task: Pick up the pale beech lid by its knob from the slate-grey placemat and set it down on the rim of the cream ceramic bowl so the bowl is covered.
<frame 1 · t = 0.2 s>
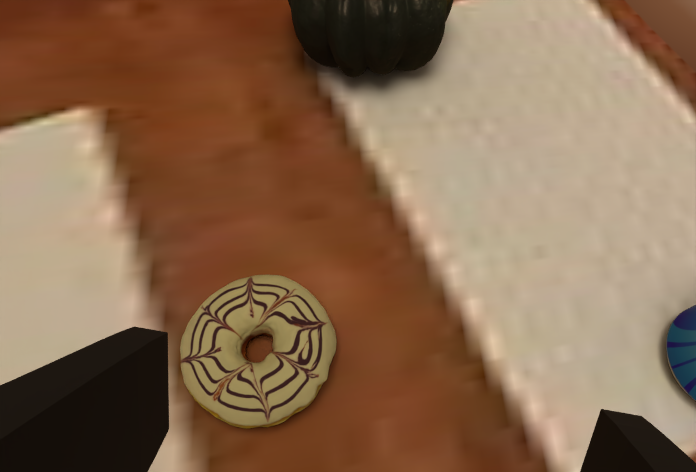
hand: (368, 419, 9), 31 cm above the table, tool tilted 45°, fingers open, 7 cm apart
squash: (364, 44, 54), on the table
decorated donut: (263, 355, 40), on the table
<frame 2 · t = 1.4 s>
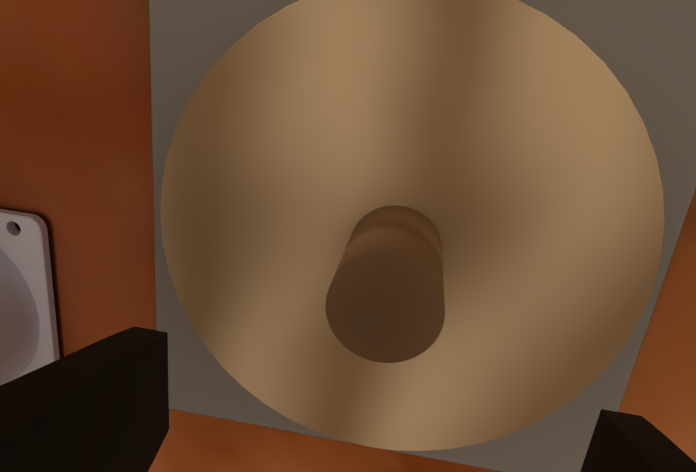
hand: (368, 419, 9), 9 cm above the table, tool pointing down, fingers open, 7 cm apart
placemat: (397, 238, 17), on the table
lid: (396, 242, 17), resting on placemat
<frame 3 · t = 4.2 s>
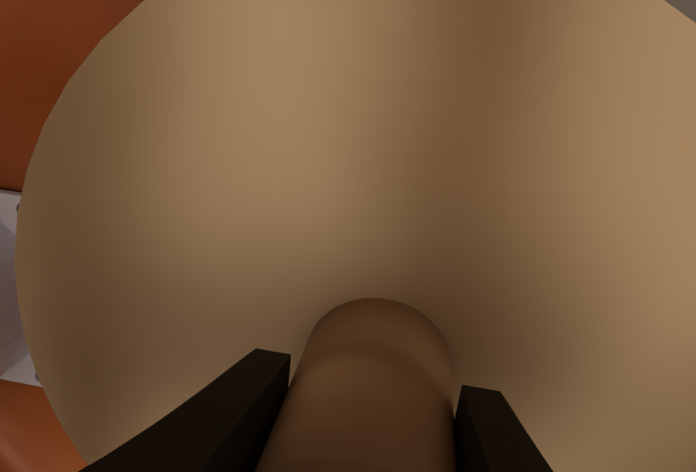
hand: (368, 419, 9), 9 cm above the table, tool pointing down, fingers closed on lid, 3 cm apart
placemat: (399, 221, 18), on the table
lid: (379, 346, 11), point 7 cm above the table, touching gripper
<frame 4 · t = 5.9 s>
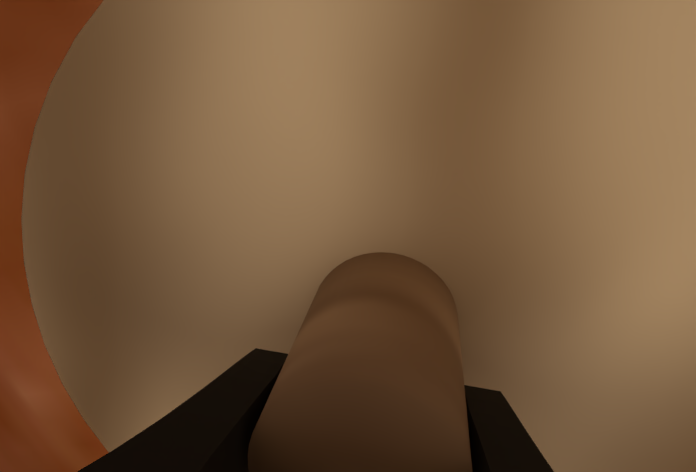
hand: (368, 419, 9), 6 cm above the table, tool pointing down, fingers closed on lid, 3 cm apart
lid: (386, 305, 11), point 3 cm above the table, touching bowl, gripper
when the fingers open (6 cm above the table, at t = 6.5 s): lid stays where it is, resting on bowl.
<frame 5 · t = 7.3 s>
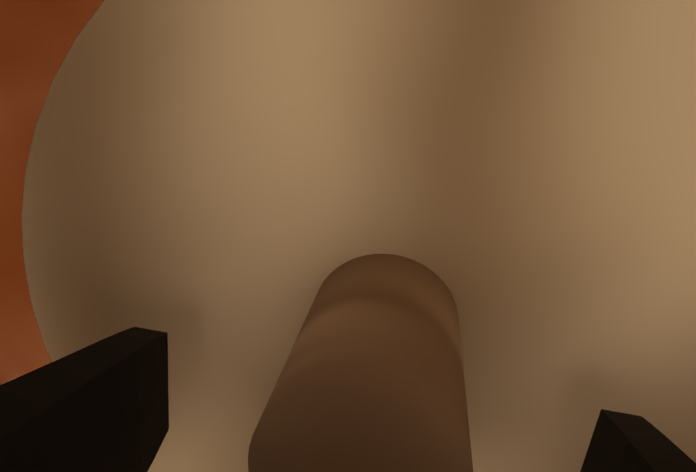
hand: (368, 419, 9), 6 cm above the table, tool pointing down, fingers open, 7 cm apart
lid: (386, 307, 11), point 3 cm above the table, touching bowl
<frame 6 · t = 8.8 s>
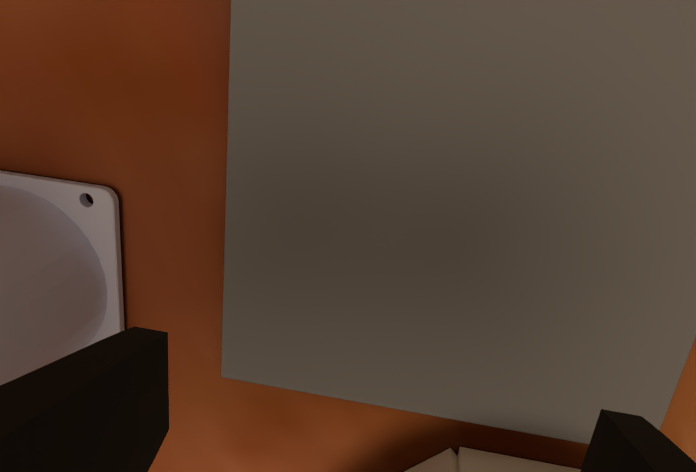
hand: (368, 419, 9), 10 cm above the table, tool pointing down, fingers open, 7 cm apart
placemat: (465, 208, 18), on the table
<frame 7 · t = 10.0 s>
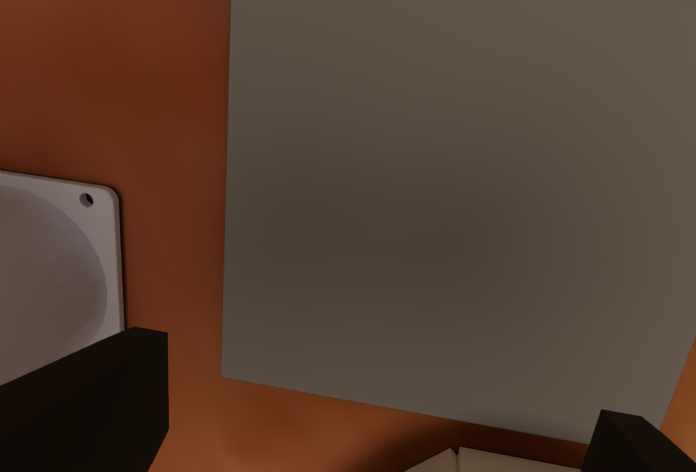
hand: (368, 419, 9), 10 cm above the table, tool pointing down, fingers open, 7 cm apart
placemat: (465, 208, 18), on the table
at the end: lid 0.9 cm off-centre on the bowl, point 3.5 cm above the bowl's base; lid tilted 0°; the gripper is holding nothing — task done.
